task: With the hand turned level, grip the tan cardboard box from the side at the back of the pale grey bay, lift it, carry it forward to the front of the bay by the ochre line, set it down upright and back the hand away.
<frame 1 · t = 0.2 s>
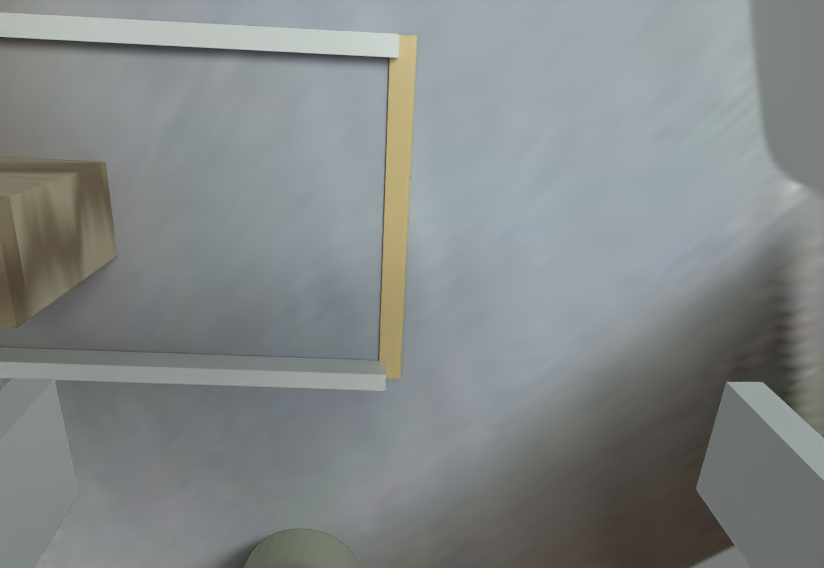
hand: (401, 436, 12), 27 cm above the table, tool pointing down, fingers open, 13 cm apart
bay: (176, 213, 38), on the table
tan cardboard box: (45, 207, 38), on the table
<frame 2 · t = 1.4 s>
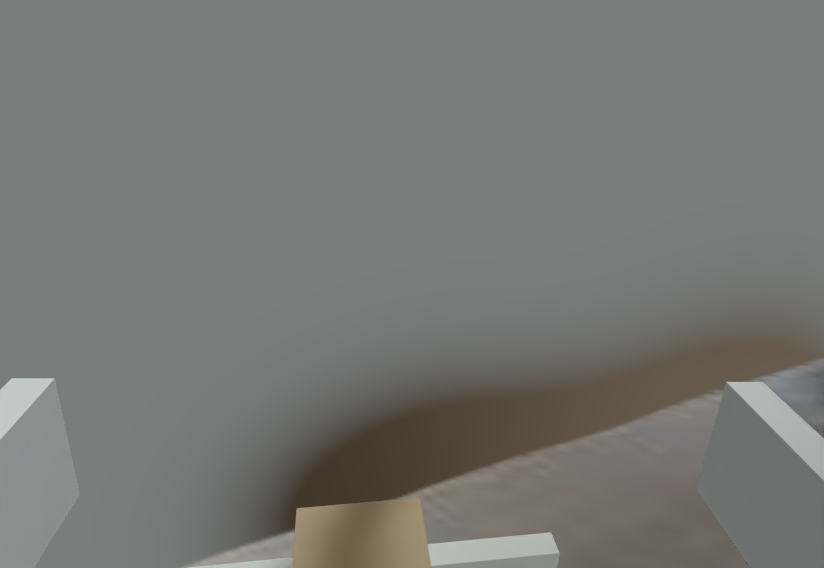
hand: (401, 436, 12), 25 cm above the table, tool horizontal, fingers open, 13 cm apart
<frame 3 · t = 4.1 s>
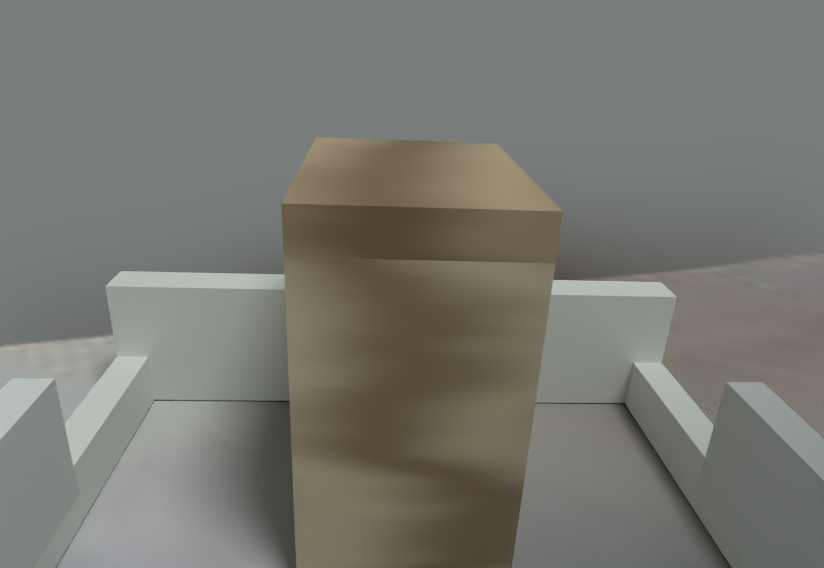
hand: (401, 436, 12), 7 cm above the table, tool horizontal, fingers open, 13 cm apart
tan cardboard box: (399, 486, 21), on the table
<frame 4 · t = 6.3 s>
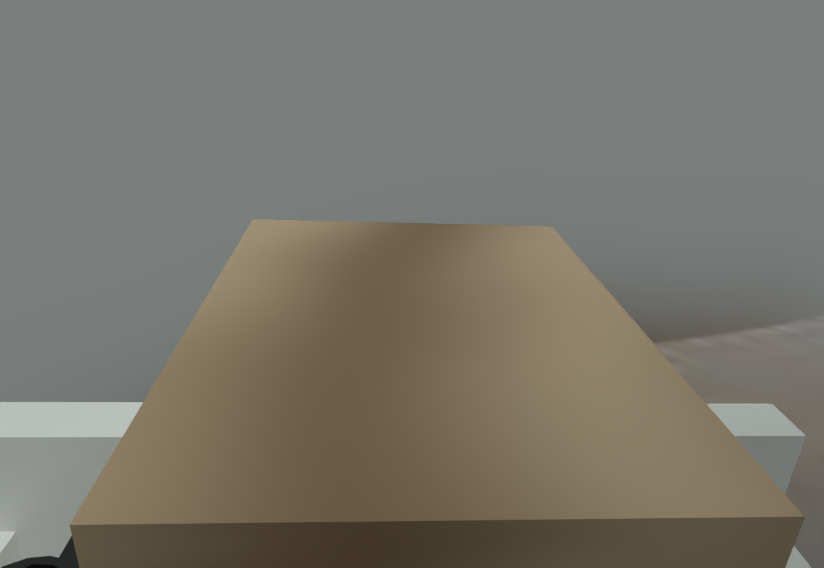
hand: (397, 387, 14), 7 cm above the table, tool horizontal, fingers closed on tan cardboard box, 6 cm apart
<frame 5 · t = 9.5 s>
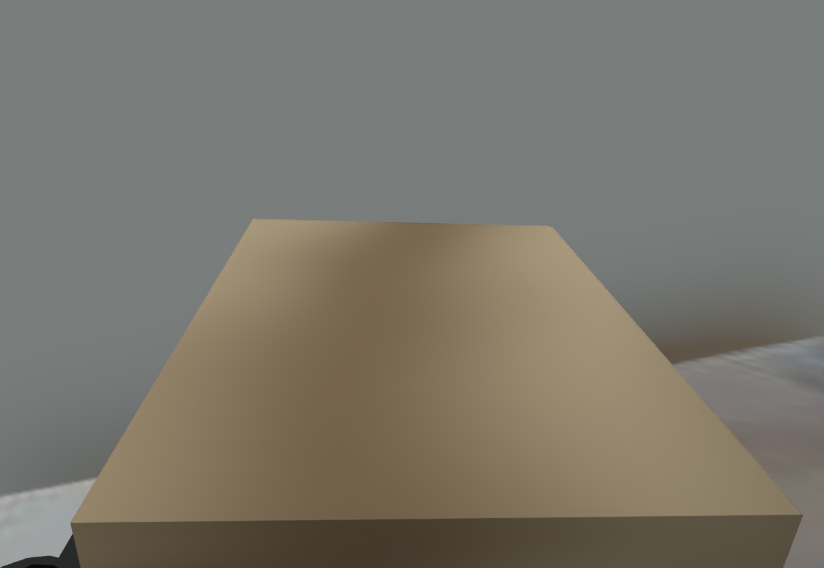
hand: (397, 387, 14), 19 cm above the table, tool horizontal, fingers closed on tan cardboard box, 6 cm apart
when the fingers open (8 cm above the table, at t = 12.5 s): tan cardboard box drops 1 cm, on the table.
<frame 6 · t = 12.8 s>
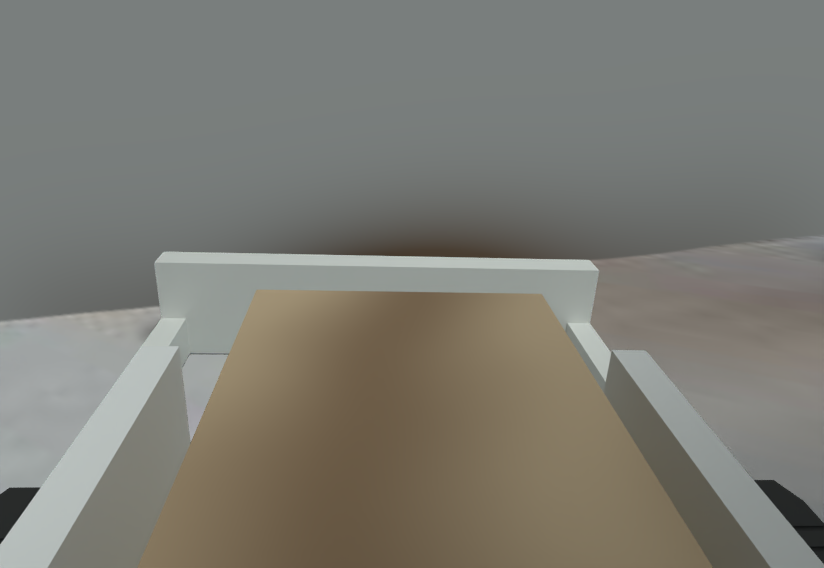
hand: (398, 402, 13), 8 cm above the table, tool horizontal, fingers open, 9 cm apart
bay: (384, 549, 20), on the table
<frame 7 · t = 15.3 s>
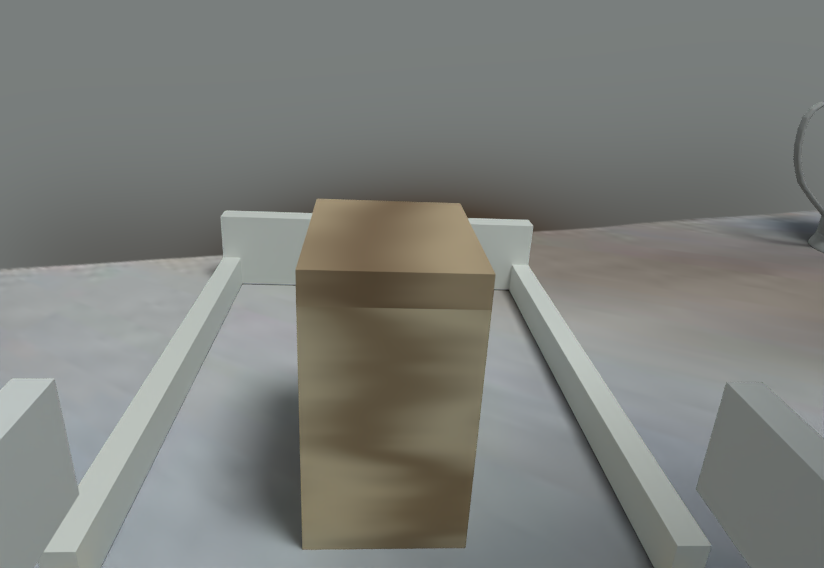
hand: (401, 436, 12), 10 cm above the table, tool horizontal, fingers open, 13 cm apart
bay: (380, 380, 33), on the table
tan cardboard box: (382, 475, 26), on the table
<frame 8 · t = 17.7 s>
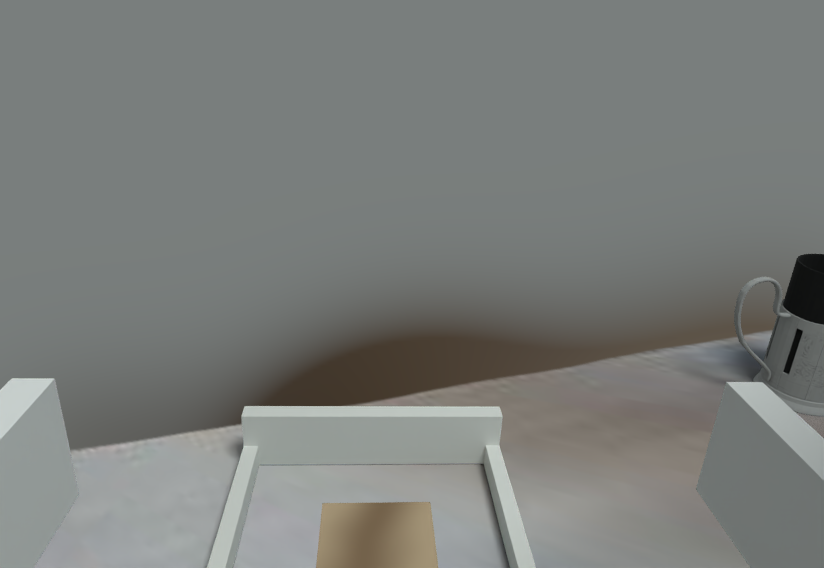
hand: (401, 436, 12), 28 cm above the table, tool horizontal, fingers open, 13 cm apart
glass holder: (773, 394, 68), on the table
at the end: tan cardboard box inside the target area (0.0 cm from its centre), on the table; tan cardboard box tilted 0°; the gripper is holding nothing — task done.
